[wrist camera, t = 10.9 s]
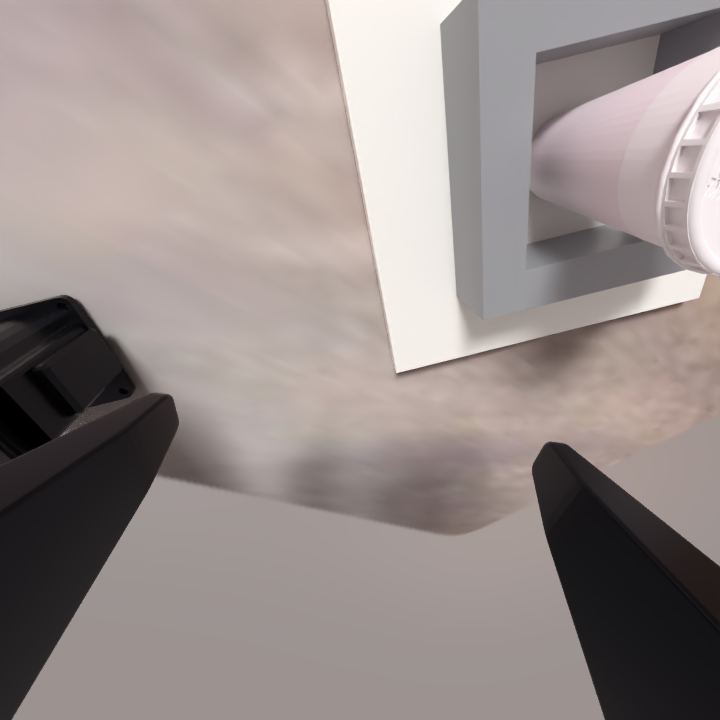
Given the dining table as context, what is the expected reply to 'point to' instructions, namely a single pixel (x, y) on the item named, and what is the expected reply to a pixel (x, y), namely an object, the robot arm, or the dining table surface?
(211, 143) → the dining table surface
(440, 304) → the socket block
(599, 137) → the smoothie
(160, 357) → the dining table surface
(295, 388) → the dining table surface
